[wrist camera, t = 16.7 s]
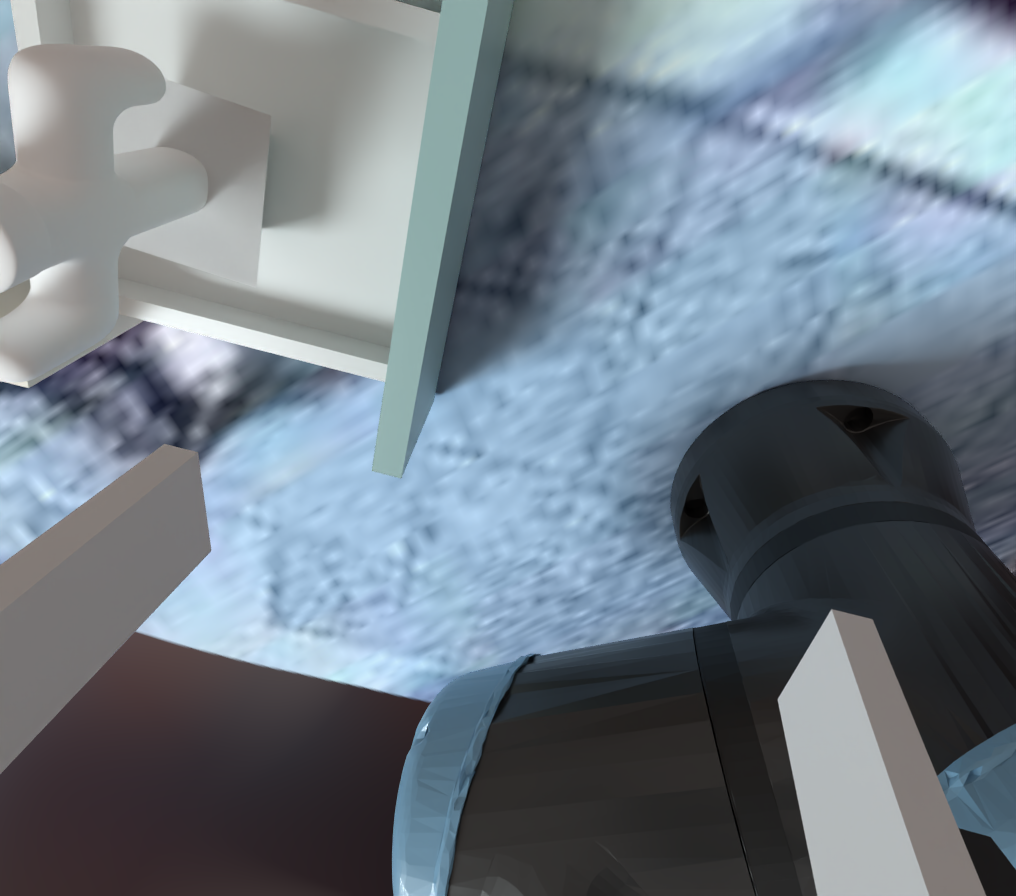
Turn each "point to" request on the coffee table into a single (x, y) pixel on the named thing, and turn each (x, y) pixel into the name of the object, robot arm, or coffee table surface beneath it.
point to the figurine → (116, 192)
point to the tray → (325, 174)
